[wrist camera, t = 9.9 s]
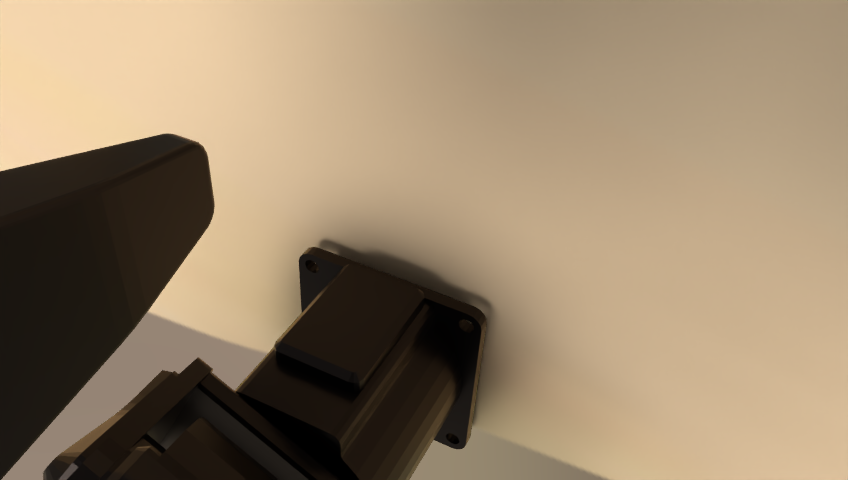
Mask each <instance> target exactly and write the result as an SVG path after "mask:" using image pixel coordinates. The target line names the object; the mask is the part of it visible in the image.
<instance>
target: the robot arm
mask: <svg viewBox="0 0 848 480" xmlns="http://www.w3.org/2000/svg"><path fill="white" fill-rule="evenodd" d="M213 213H214V196H213V189H212V182H211V175H210V168H209V161H208V156H207V152H206V151H205V149H204V147H203V146H202V145H201V144H199V143H198V142H196V141H193V140H190V139H187V138H184V137H181V136H178V135H175V134H161V135H157V136H153V137H148V138H144V139H140V140H135V141H131V142H126V143H122V144H118V145H113V146H109V147H105V148H100V149H96V150H92V151H87V152H83V153H78V154H74V155H70V156H65V157H61V158H57V159H52V160H48V161H44V162H39V163H35V164H30V165H26V166H22V167H17V168H13V169H9V170H4V171H0V480H1V479H2V478H3V476H5V475H6V473H7V472H8V471H9V470H10V469H11V468H12V467H13V465H14V464H15V463H16V462H17V461H18V460H19V459H20V458H21V456H22V455H23V454H24V453H25V452H26V451H27V450H28V449H29V447H30V446H31V445H32V444H33V443H34V442H35V441H36V439H37V438H38V437H39V436H40V435H41V434H42V433H43V432H44V431H45V429H46V428H47V427H48V426H49V425H50V424H51V423H52V422H53V420H54V419H55V418H56V417H57V416H58V415H59V413H61V411H62V410H63V409H64V408H65V407H66V406H67V405H68V404H69V402H70V401H71V400H72V399H73V398H74V397H75V396H76V395H77V393H78V392H79V391H80V390H81V389H82V388H83V387H84V385H85V384H86V383H87V382H88V380H90V379H91V378H92V376H93V375H94V374H95V373H96V372H97V371H98V370H99V369H100V367H101V366H102V365H103V364H104V363H105V362H106V361H107V360H108V358H109V357H110V356H111V355H112V354H113V353H114V352H115V350H116V349H117V348H118V347H119V346H120V345H121V344H122V343H123V341H124V340H125V339H126V338H127V337H128V335H129V334H130V333H131V332H132V331H133V329H134V328H135V327H136V326H137V324H138V323H139V322H140V320H141V319H142V318H143V316H144V315H145V314H146V313H147V311H148V310H149V309H150V307H151V306H152V304H153V303H154V302H155V300H156V299H157V297H158V296H159V295H160V293H161V292H162V290H163V289H164V288H165V286H166V285H167V283H168V282H169V281H170V279H171V278H172V277H173V275H174V274H175V272H176V271H177V270H178V268H179V267H180V265H181V264H182V263H183V261H184V260H185V258H186V257H187V256H188V254H189V253H190V251H191V250H192V249H193V247H194V246H195V245H196V243H197V242H198V240H199V239H200V238H201V236H202V235H203V233H204V232H205V231H206V229H207V228H208V226H209V224H210V222H211V220H212V217H213ZM315 263H316V264H315ZM299 271H300V289H301V306H302V313H301V315H300V316H299V317H298V318H297V319H296V320H295V321H294V322H293V323H292V325H291V326H290V327H289V328H288V329H287V330H286V331H285V332H284V333H283V335H282V336H281V337H280V338H279V339H278V340H277V341H276V343H275V345H274V348H273V349H272V350H271V351H270V352H269V353H268V354H267V355H266V356H265V358H264V359H263V360H262V361H261V362H260V363H259V364H258V366H256V368H255V369H254V370H253V371H252V372H251V373H250V374H249V375H248V376H247V378H246V379H245V380H244V381H243V382H242V383H241V384H240V385H239V386H238V388H237V389H236V390H235V391H234V390H232V389H231V388H230V387H229V386H227V385H226V384H225V383H224V382H222V381H221V380H220V379H219V378H218V377H217V376H215V375H214V374H213V373H212V371H213V369H212V368H211V367H210V366H209V365H207V364H206V363H205V362H204V361H202V360H201V359H200V358H197V359H196V360H195V361H193V362H192V363H191V364H190V365H189V366H188V367H187V368H186V369H185V370H183V371H182V372H181V373H180V374H177V373H176V372H175V371H174V372H168V371H163V370H162V371H161V372H160V373H159V374H158V375H157V376H156V377H155V378H154V379H153V380H152V381H151V382H150V383H149V384H148V385H147V386H146V387H145V388H144V389H143V390H142V391H141V392H140V393H139V394H138V395H137V396H136V397H135V398H134V399H133V400H132V401H131V402H129V403H128V404H127V405H126V406H125V407H124V408H123V409H121V410H120V411H119V412H118V413H116V414H115V415H114V416H113V417H111V418H110V419H108V420H107V421H105V422H104V423H103V424H101V425H100V426H98V427H97V428H96V429H94V430H93V431H91V432H90V433H89V434H87V435H86V436H85V437H83V438H82V439H80V440H79V441H78V442H76V443H75V444H74V445H72V446H71V447H69V448H68V449H66V450H65V451H64V452H62V453H61V454H60V455H58V456H57V457H56V458H55V459H54V460H53V461H52V462H51V463H50V464H49V466H48V467H47V468H46V469H45V471H44V473H43V480H409V479H410V478H411V476H412V474H413V473H414V471H415V469H416V468H417V466H418V464H419V463H420V461H421V459H422V458H423V456H424V455H425V453H426V451H427V450H428V448H429V446H430V444H431V443H432V441H433V440H435V441H438V442H440V443H442V444H445V445H447V446H449V447H451V448H454V449H462V448H464V447H465V445H466V443H467V442H468V440H469V438H470V435H471V429H472V422H473V415H474V408H475V401H476V394H477V387H478V380H479V373H480V366H481V359H482V352H483V346H484V339H485V332H486V325H487V322H486V318H485V316H484V314H483V313H482V312H481V311H480V310H479V309H477V308H476V307H474V306H471V305H469V304H466V303H463V302H461V301H458V300H455V299H453V298H450V297H447V296H445V295H442V294H439V293H437V292H434V291H431V290H429V289H426V288H423V287H421V286H418V285H416V284H413V283H410V282H408V281H405V280H402V279H400V278H397V277H394V276H392V275H389V274H386V273H384V272H381V271H378V270H376V269H373V268H370V267H368V266H365V265H362V264H360V263H357V262H354V261H352V260H349V259H346V258H344V257H341V256H338V255H336V254H333V253H330V252H328V251H325V250H323V249H320V248H316V247H311V248H308V249H307V250H306V251H305V252H304V254H303V255H302V256H301V257H300V259H299ZM466 320H468V321H470V322H471V323H472V324H470V323H468V322H467V321H466Z"/></svg>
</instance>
